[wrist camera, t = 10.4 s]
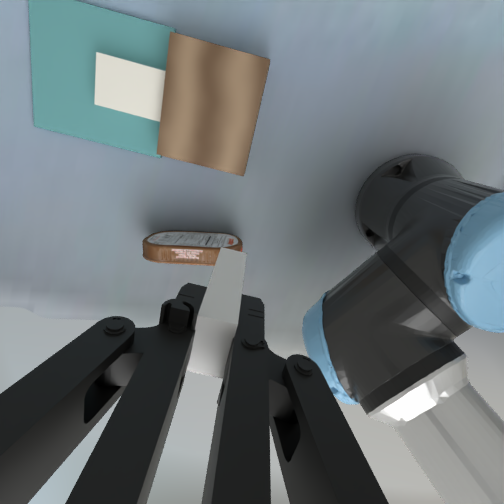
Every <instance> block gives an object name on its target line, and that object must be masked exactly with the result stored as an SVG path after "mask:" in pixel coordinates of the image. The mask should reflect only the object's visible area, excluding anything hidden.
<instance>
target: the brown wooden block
mask: <svg viewBox="0 0 504 504" xmlns="http://www.w3.org/2000/svg"><path fill="white" fill-rule="evenodd" d="M269 65H270V59H266V58H263V57H259V56H256V55H252V54H249V53H245V52H242V51H238V50H234V49H231V48H227V47H224V46H220V45H217V44H213V43H210V42H206V41H202V40H199V39H195V38H192V37H188V36H185V35H181V34H178V33H174V32H170V36H169V45H168V54H167V63H166V72H165V81H164V90H163V100H162V109H161V118H160V127H159V136H158V145H157V155H161V156H165V157H169V158H173V159H177V160H181V161H185V162H189V163H193V164H197V165H201V166H205V167H209V168H213V169H217V170H220V171H224V172H228V173H232V174H236V175H240V176H244V173H245V170H246V166H247V161H248V157H249V152H250V148H251V144H252V139H253V135H254V131H255V126H256V122H257V118H258V113H259V109H260V105H261V100H262V96H263V91H264V87H265V83H266V78H267V74H268V70H269Z"/></svg>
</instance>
